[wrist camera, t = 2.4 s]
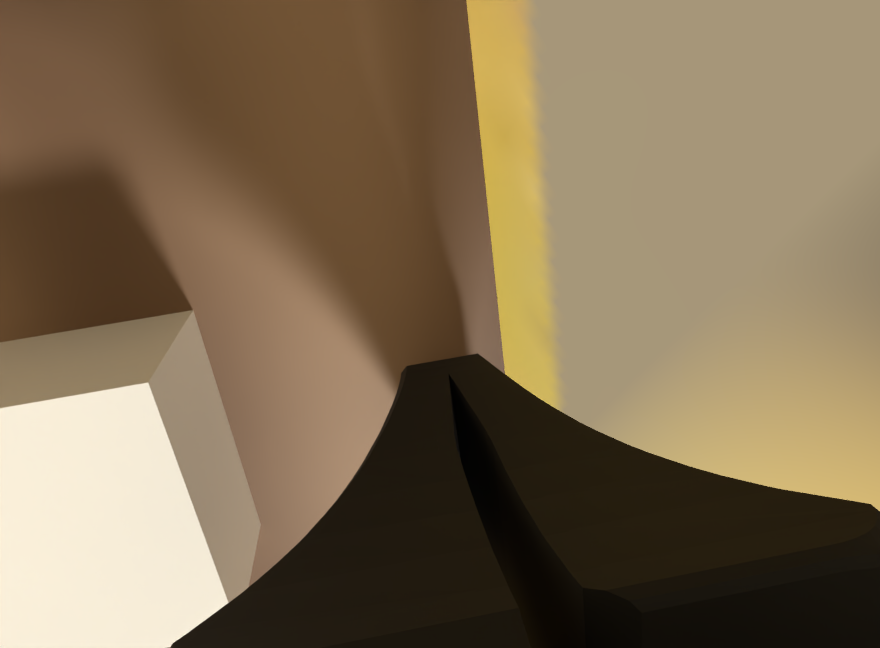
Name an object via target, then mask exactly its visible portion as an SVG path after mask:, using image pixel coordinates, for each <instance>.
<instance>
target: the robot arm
mask: <svg viewBox="0 0 880 648" xmlns="http://www.w3.org/2000/svg"><path fill="white" fill-rule="evenodd" d="M170 648H880V511H878V510H877V509H876V508H875V507H873V506H872V505H871V504H866V503H860V502H855V501H849V500H843V499H837V498H830V497H824V496H818V495H812V494H806V493H800V492H794V491H788V490H782V489H777V488H772V487H767V486H763V485H759V484H755V483H751V482H746V481H742V480H738V479H734V478H730V477H725V476H721V475H718V474H714V473H710V472H707V471H703V470H700V469H696V468H693V467H689V466H686V465H683V464H680V463H677V462H674V461H671V460H669V459H665V458H663V457H660V456H657V455H654V454H651V453H648V452H645V451H643V450H640V449H638V448H635V447H632V446H630V445H627V444H625V443H623V442H621V441H618V440H616V439H614V438H612V437H609V436H607V435H605V434H603V433H600V432H598V431H596V430H594V429H592V428H590V427H588V426H586V425H584V424H582V423H580V422H578V421H576V420H575V419H573V418H571V417H569V416H568V415H566V414H564V413H562V412H561V411H559V410H557V409H555V408H554V407H552V406H550V405H549V404H547V403H545V402H544V401H542V400H541V399H539V398H538V397H536V396H535V395H533V394H532V393H530V392H529V391H527V390H526V389H524V388H523V387H522V386H520V385H519V384H517V383H516V382H515V381H513V380H512V379H511V378H509V377H508V376H507V375H505V374H504V373H503V372H502V371H500V370H499V369H498V368H496V367H495V366H494V365H493V364H491V363H490V362H489V361H487V360H486V359H485V358H483V357H482V356H481V355H479V354H478V353H477V354H472V355H466V356H460V357H455V358H449V359H443V360H437V361H432V362H426V363H420V364H415V365H409V366H406V367H405V369H404V370H403V371H402V373H401V378H400V383H399V386H398V390H397V393H396V396H395V398H394V401H393V404H392V406H391V408H390V411H389V413H388V415H387V417H386V420H385V422H384V424H383V426H382V428H381V430H380V432H379V434H378V436H377V438H376V440H375V442H374V443H373V445H372V447H371V449H370V451H369V452H368V454H367V456H366V458H365V460H364V461H363V463H362V464H361V466H360V468H359V469H358V471H357V472H356V474H355V475H354V477H353V478H352V480H351V481H350V483H349V484H348V485H347V487H346V488H345V489H344V491H343V492H342V493H341V495H340V496H339V498H338V499H337V500H336V501H335V503H334V504H333V505H332V506H331V508H330V509H329V510H328V511H327V512H326V513H325V515H324V516H323V517H322V518H321V519H320V520H319V521H318V522H317V524H316V525H315V526H314V527H313V528H312V529H311V530H310V531H309V532H308V533H307V535H306V536H305V537H304V538H303V539H302V540H301V541H300V542H299V543H298V544H297V545H296V546H295V547H294V548H292V549H291V550H290V551H289V552H288V553H287V554H286V555H285V556H284V557H283V558H282V559H281V560H280V561H279V562H277V563H276V564H275V565H274V566H273V567H272V568H271V569H269V570H268V571H267V572H266V573H265V574H264V575H263V576H261V577H260V578H259V579H258V580H257V581H256V582H254V583H253V584H252V585H251V586H249V587H248V588H247V589H246V590H245V591H243V592H242V593H241V594H240V595H238V596H237V597H236V598H234V599H233V600H232V601H230V602H229V603H227V604H226V605H225V606H223V607H222V608H221V609H219V610H218V611H217V612H215V613H214V614H213V615H211V616H210V617H209V618H207V619H206V620H205V621H203V622H202V623H201V624H199V625H198V626H197V627H195V628H194V629H192V630H191V631H190V632H188V633H187V634H185V635H184V636H183V637H181V638H180V639H178V640H177V641H175V642H174V643H173V644H172V645H171V647H170Z"/></svg>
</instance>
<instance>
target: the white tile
mask: <svg viewBox="0 0 880 648" xmlns="http://www.w3.org/2000/svg"><path fill="white" fill-rule="evenodd" d="M260 526H261V524H260V521H259V517H258V514H257V511H256V508H255V505H254V502H253V498H252V495H251V492H250V489H249V486H248V483H247V479H246V476H245V473H244V470H243V467H242V464H241V460H240V457H239V454H238V451H237V448H236V445H235V441H234V438H233V435H232V432H231V429H230V425H229V422H228V419H227V416H226V413H225V410H224V406H223V403H222V400H221V397H220V394H219V391H218V387H217V384H216V381H215V378H214V375H213V372H212V368H211V365H210V362H209V359H208V356H207V352H206V349H205V346H204V343H203V340H202V337H201V333H200V330H199V327H198V324H197V321H196V318H195V314H194V311H193V310H191V311H185V312H179V313H173V314H167V315H161V316H155V317H149V318H143V319H137V320H131V321H125V322H119V323H113V324H107V325H101V326H95V327H89V328H83V329H77V330H71V331H65V332H59V333H53V334H48V335H42V336H36V337H30V338H24V339H18V340H12V341H6V342H0V648H167V647H171V645H172V644H173V643H174V642H175V641H177V640H178V639H180V638H181V637H183V636H184V635H185V634H187V633H188V632H190V631H191V630H192V629H194V628H195V627H197V626H198V625H199V624H201V623H202V622H203V621H205V620H206V619H207V618H209V617H210V616H211V615H213V614H214V613H215V612H217V611H218V610H219V609H221V608H222V607H223V606H225V605H226V604H227V603H229V602H230V601H232V600H233V599H234V598H236V597H237V596H238V595H240V594H241V593H242V592H243V591H245V590H246V589H247V588H248V587H249V582H250V577H251V572H252V567H253V562H254V557H255V551H256V546H257V541H258V536H259V531H260Z"/></svg>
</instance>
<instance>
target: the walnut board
mask: <svg viewBox="0 0 880 648" xmlns="http://www.w3.org/2000/svg"><path fill="white" fill-rule="evenodd" d="M191 310H193V311H194V314H195V318H196V321H197V324H198V327H199V330H200V333H201V337H202V340H203V343H204V346H205V349H206V352H207V356H208V359H209V362H210V365H211V368H212V372H213V375H214V378H215V381H216V384H217V387H218V391H219V394H220V397H221V400H222V403H223V406H224V410H225V413H226V416H227V419H228V422H229V425H230V429H231V432H232V435H233V438H234V441H235V445H236V448H237V451H238V454H239V457H240V460H241V464H242V467H243V470H244V473H245V476H246V479H247V483H248V486H249V489H250V492H251V495H252V498H253V502H254V505H255V508H256V511H257V514H258V517H259V521H260V524H261V526H260V531H259V536H258V541H257V546H256V551H255V557H254V562H253V567H252V572H251V577H250V582H249V586H251V585H252V584H253V583H254V582H256V581H257V580H258V579H259V578H260V577H261V576H263V575H264V574H265V573H266V572H267V571H268V570H269V569H271V568H272V567H273V566H274V565H275V564H276V563H277V562H279V561H280V560H281V559H282V558H283V557H284V556H285V555H286V554H287V553H288V552H289V551H290V550H291V549H292V548H294V547H295V546H296V545H297V544H298V543H299V542H300V541H301V540H302V539H303V538H304V537H305V536H306V535H307V533H308V532H309V531H310V530H311V529H312V528H313V527H314V526H315V525H316V524H317V522H318V521H319V520H320V519H321V518H322V517H323V516H324V515H325V513H326V512H327V511H328V510H329V509H330V508H331V506H332V505H333V504H334V503H335V501H336V500H337V499H338V498H339V496H340V495H341V493H342V492H343V491H344V489H345V488H346V487H347V485H348V484H349V483H350V481H351V480H352V478H353V477H354V475H355V474H356V472H357V471H358V469H359V468H360V466H361V464H362V463H363V461H364V460H365V458H366V456H367V454H368V452H369V451H370V449H371V447H372V445H373V443H374V442H375V440H376V438H377V436H378V434H379V432H380V430H381V428H382V426H383V424H384V422H385V420H386V417H387V415H388V413H389V411H390V408H391V406H392V404H393V401H394V398H395V396H396V393H397V390H398V386H399V383H400V378H401V373H402V371H403V370H404V369H405V367H406V366H409V365H415V364H420V363H426V362H432V361H437V360H443V359H449V358H455V357H460V356H466V355H472V354H477V353H478V354H479V355H481V356H482V357H483V358H485V359H486V360H487V361H489V362H490V363H491V364H493V365H494V366H495V367H496V368H498V369H499V370H500V371H502V372H503V373H504V374H505V371H504V361H503V352H502V342H501V332H500V323H499V313H498V303H497V294H496V284H495V274H494V265H493V255H492V245H491V236H490V226H489V216H488V207H487V197H486V188H485V178H484V168H483V159H482V149H481V139H480V130H479V120H478V110H477V101H476V91H475V81H474V72H473V62H472V52H471V43H470V33H469V24H468V14H467V4H466V0H0V342H6V341H12V340H18V339H24V338H30V337H36V336H42V335H48V334H53V333H59V332H65V331H71V330H77V329H83V328H89V327H95V326H101V325H107V324H113V323H119V322H125V321H131V320H137V319H143V318H149V317H155V316H161V315H167V314H173V313H179V312H185V311H191ZM167 648H170V647H167Z"/></svg>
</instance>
